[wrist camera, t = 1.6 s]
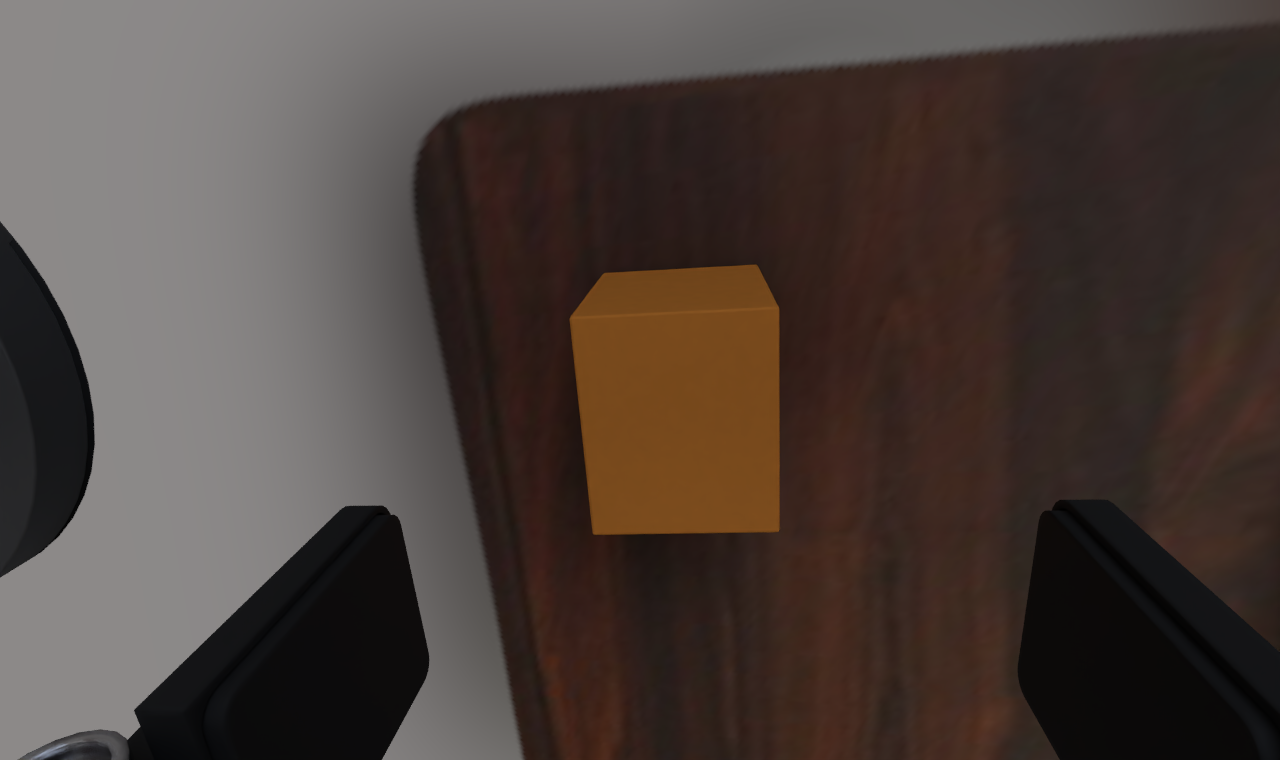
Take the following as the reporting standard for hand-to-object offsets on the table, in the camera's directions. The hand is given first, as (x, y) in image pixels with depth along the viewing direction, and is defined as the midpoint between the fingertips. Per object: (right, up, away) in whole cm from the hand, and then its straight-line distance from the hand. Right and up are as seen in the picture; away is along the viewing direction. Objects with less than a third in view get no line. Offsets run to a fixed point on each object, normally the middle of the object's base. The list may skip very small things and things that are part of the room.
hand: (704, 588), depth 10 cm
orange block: (0, +4, +11) cm, 11 cm away
